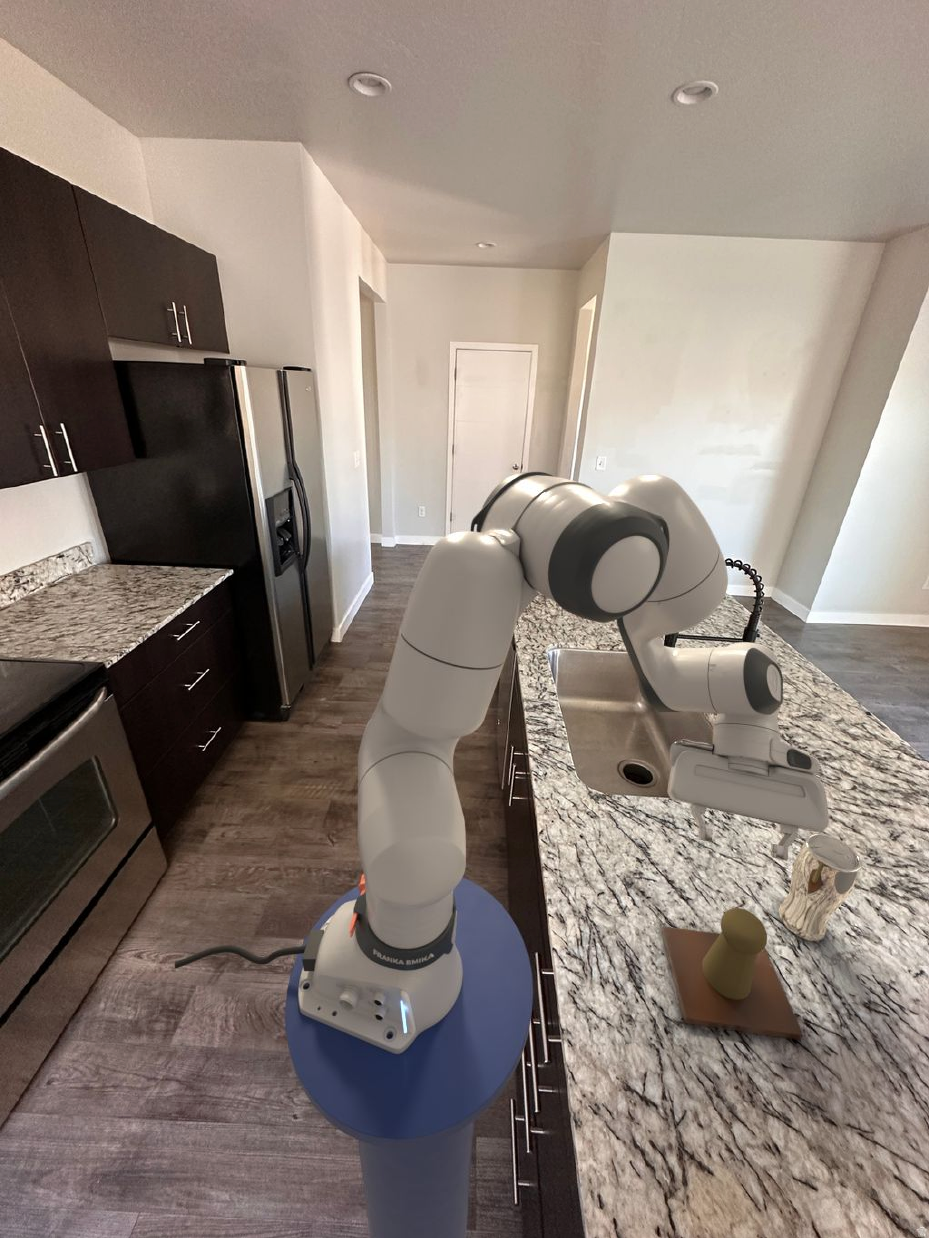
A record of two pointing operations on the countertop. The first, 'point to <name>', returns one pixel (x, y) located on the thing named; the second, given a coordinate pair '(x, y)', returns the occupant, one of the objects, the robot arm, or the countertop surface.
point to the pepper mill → (735, 953)
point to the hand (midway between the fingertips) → (741, 849)
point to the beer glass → (818, 885)
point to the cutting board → (710, 1008)
